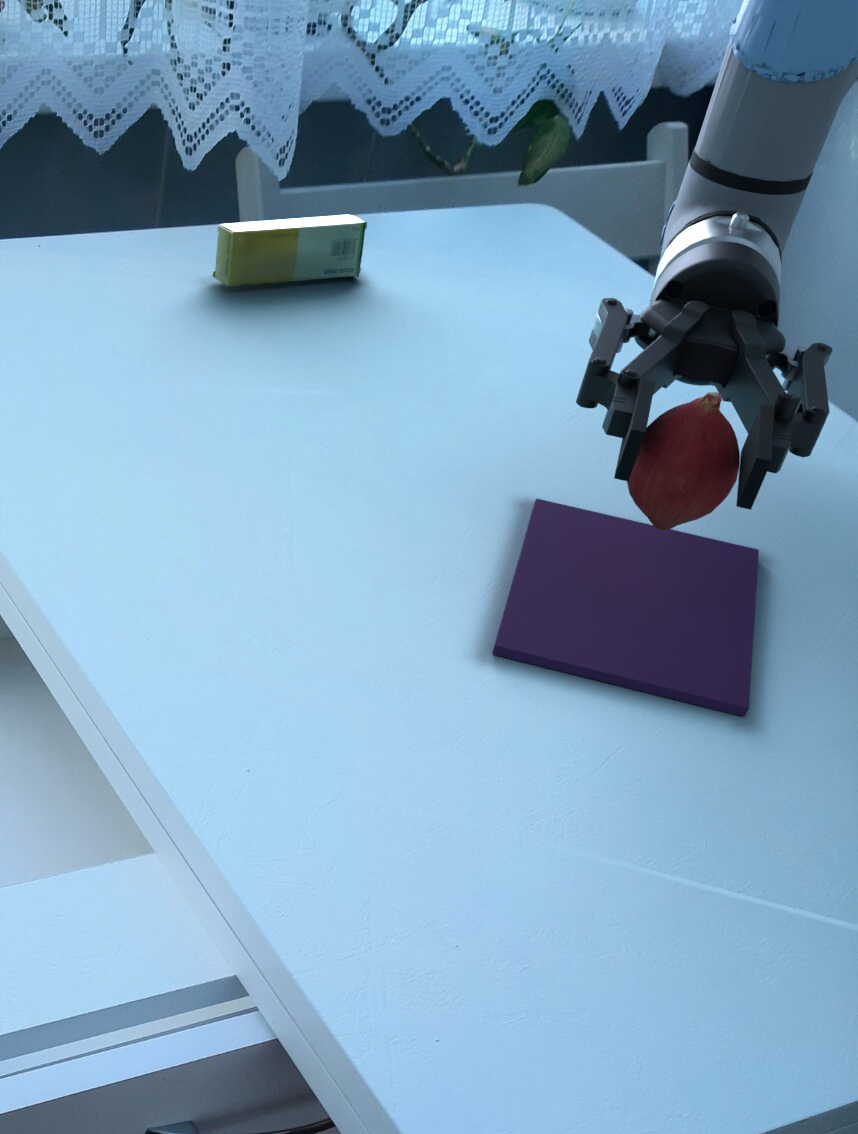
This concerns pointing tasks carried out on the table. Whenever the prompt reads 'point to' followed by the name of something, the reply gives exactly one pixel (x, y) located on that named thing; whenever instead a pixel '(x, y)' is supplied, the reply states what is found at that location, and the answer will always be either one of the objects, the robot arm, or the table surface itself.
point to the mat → (633, 606)
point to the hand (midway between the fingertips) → (691, 469)
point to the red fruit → (685, 463)
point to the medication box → (289, 250)
